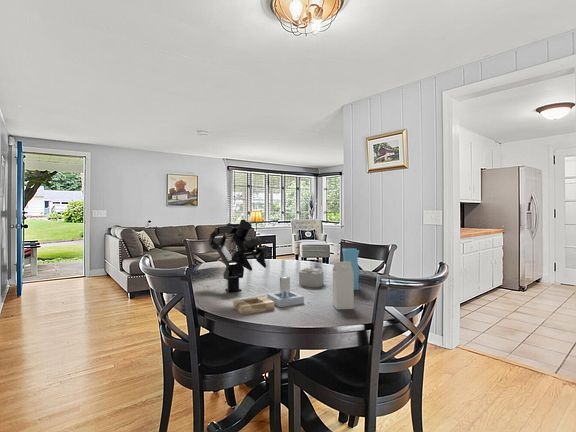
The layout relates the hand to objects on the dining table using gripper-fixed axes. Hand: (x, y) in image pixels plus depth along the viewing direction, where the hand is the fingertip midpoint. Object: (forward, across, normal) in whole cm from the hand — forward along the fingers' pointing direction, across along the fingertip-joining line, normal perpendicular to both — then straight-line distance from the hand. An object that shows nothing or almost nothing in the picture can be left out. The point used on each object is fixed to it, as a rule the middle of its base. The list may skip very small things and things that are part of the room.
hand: (258, 268), depth 152 cm
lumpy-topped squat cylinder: (+12, +37, +8) cm, 39 cm away
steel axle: (+19, +3, 0) cm, 19 cm away
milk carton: (+36, +11, -17) cm, 42 cm away
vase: (+27, +42, -7) cm, 51 cm away
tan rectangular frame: (+16, -13, +3) cm, 21 cm away
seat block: (+19, +3, 0) cm, 19 cm away
